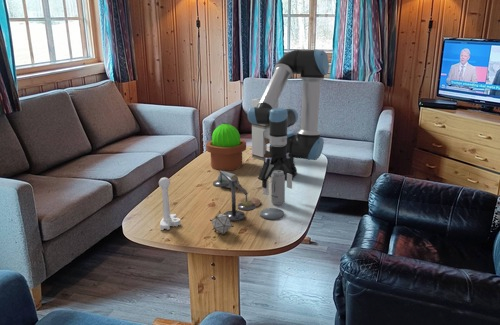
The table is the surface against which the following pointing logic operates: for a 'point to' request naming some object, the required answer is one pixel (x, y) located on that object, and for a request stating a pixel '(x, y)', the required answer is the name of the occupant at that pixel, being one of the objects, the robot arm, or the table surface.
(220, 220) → the game die
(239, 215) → the balance
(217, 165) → the potted cactus
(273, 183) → the energy drink can
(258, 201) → the pink disc
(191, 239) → the table surface
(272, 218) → the grey round disc
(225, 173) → the ceramic mug
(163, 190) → the white mechanical bracket
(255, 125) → the stacked white blocks
